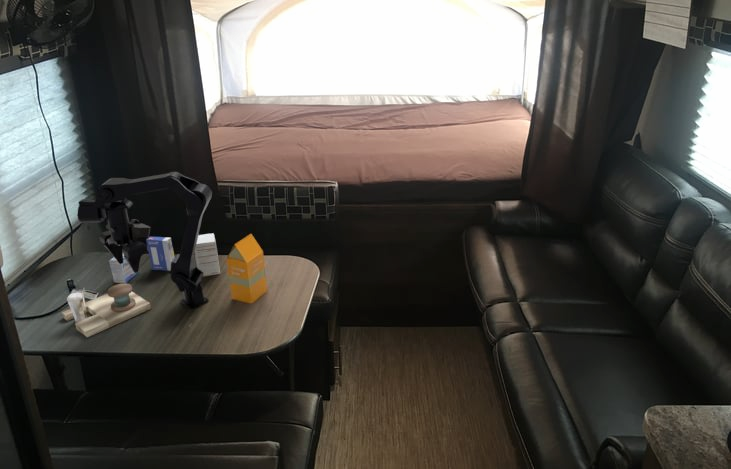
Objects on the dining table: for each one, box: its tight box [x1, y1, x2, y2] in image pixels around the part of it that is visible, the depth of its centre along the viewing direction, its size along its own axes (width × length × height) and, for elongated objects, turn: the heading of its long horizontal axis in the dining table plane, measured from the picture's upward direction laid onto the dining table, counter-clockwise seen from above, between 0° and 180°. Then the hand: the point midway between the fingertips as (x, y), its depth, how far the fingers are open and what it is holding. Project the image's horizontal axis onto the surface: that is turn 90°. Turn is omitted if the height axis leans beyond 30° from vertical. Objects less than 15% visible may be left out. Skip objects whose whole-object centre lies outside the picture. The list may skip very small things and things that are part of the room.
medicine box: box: [108, 254, 139, 284], centre depth 192 cm, size 8×4×9 cm, turn 168°
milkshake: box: [66, 288, 88, 323], centre depth 168 cm, size 5×5×10 cm
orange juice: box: [226, 233, 268, 304], centre depth 178 cm, size 8×9×20 cm
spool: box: [106, 283, 136, 312], centre depth 172 cm, size 7×7×6 cm
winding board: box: [61, 291, 152, 338], centre depth 173 cm, size 16×20×2 cm
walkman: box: [145, 236, 175, 272], centre depth 197 cm, size 8×3×12 cm, turn 81°
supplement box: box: [194, 232, 221, 277], centre depth 194 cm, size 7×7×13 cm
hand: (128, 267), depth 173 cm, fingers open, 9 cm apart
